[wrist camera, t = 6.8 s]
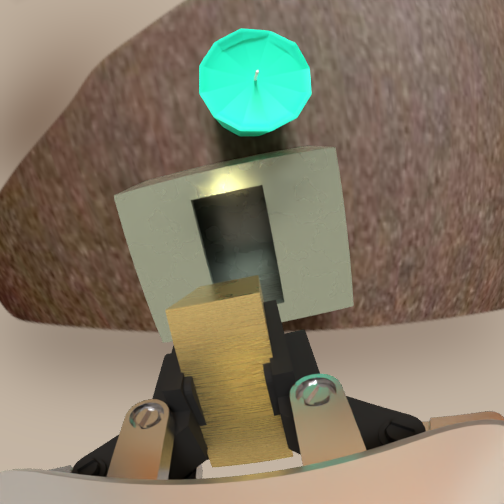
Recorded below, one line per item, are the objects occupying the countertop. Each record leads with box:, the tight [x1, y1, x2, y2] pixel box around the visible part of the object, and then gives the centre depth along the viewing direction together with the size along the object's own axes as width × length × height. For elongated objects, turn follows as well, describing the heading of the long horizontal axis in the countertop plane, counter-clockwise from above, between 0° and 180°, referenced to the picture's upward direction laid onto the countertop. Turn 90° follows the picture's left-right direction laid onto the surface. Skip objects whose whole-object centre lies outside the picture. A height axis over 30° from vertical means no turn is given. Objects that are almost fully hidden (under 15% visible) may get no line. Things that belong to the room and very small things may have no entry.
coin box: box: [114, 146, 353, 342], centre depth 24 cm, size 14×11×8 cm
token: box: [165, 275, 293, 467], centre depth 10 cm, size 2×5×5 cm
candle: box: [199, 29, 311, 136], centre depth 19 cm, size 6×6×12 cm
